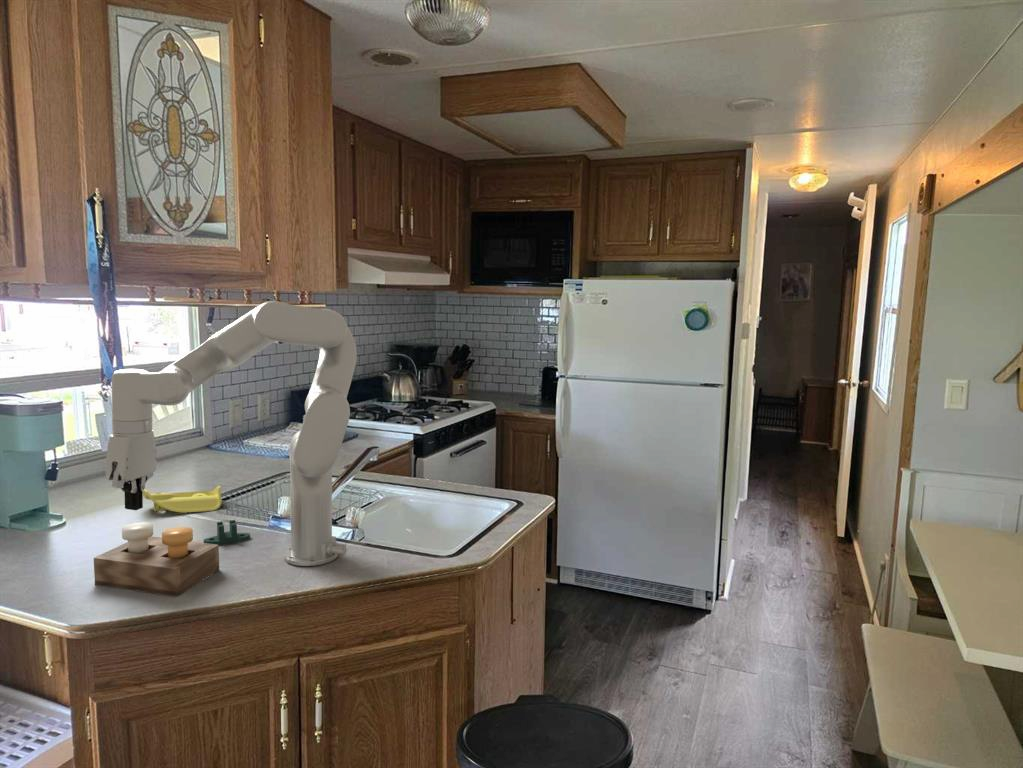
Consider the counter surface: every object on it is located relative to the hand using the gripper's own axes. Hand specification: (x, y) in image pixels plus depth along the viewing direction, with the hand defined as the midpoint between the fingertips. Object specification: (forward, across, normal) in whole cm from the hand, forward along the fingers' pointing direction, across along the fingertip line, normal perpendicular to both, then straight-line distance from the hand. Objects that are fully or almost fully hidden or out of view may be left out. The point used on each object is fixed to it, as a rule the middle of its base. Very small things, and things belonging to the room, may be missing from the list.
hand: (133, 508), depth 147 cm
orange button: (+10, 0, +11) cm, 15 cm away
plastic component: (+16, -42, -21) cm, 50 cm away
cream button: (+10, 0, +1) cm, 10 cm away
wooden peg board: (+15, 0, +6) cm, 16 cm away
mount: (+15, -24, +7) cm, 29 cm away
